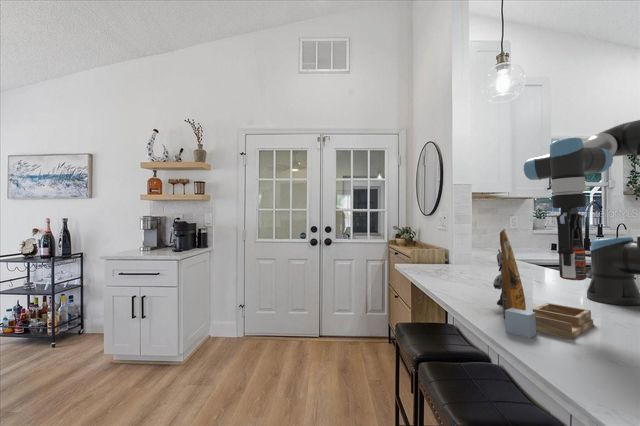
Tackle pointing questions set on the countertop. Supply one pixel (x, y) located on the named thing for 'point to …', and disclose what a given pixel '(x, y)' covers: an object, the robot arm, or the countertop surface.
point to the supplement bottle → (576, 261)
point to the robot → (499, 277)
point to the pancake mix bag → (510, 278)
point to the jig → (562, 320)
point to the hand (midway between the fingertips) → (572, 275)
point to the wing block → (520, 322)
